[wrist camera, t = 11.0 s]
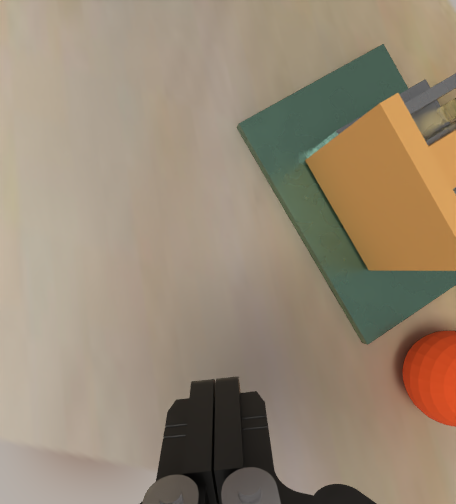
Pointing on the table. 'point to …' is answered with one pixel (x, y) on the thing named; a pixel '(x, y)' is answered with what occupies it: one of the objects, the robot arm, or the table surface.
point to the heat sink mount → (316, 203)
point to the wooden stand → (392, 190)
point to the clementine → (433, 376)
